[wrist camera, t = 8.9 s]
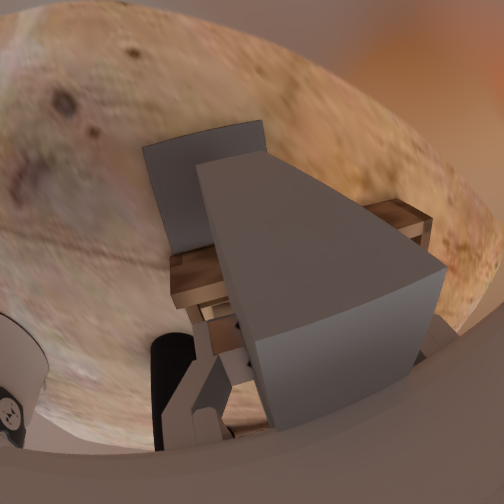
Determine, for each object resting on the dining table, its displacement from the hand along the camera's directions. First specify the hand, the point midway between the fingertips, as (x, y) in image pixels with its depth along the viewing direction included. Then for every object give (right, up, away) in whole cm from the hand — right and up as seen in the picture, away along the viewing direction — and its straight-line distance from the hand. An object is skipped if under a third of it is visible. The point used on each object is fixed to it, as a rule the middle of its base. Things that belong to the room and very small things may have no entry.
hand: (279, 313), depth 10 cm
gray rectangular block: (-1, +2, +4) cm, 5 cm away
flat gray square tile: (-4, +8, +14) cm, 17 cm away
